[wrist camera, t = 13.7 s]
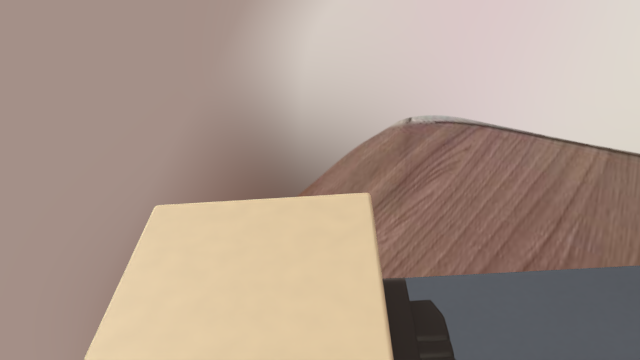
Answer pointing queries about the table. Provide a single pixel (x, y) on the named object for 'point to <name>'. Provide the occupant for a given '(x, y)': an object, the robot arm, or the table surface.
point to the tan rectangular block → (252, 284)
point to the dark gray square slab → (539, 313)
